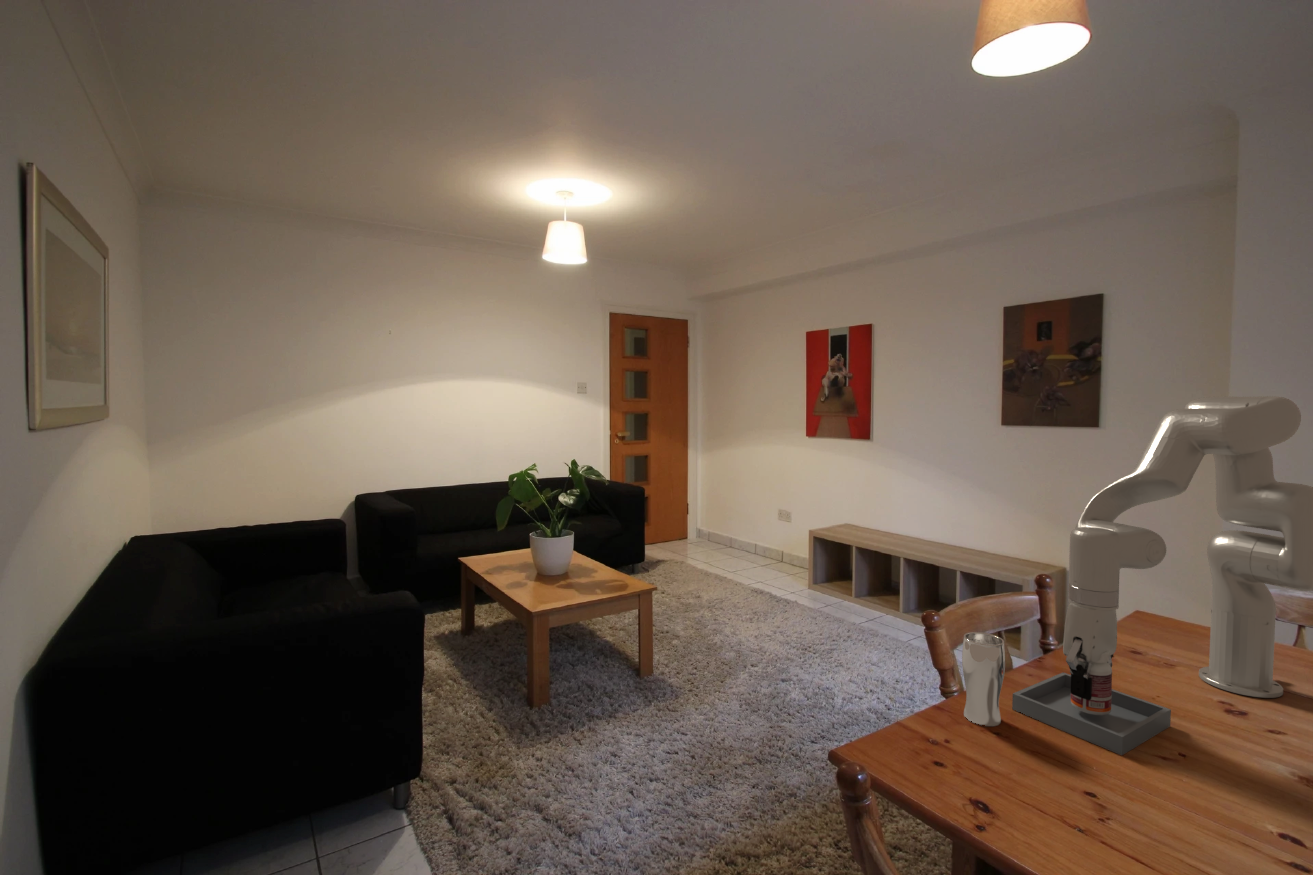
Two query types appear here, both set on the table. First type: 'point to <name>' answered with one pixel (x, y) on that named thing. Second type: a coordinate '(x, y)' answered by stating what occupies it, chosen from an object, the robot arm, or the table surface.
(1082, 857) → the table surface
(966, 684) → the beer glass
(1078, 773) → the table surface
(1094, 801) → the table surface
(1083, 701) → the pill bottle
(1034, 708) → the tray
